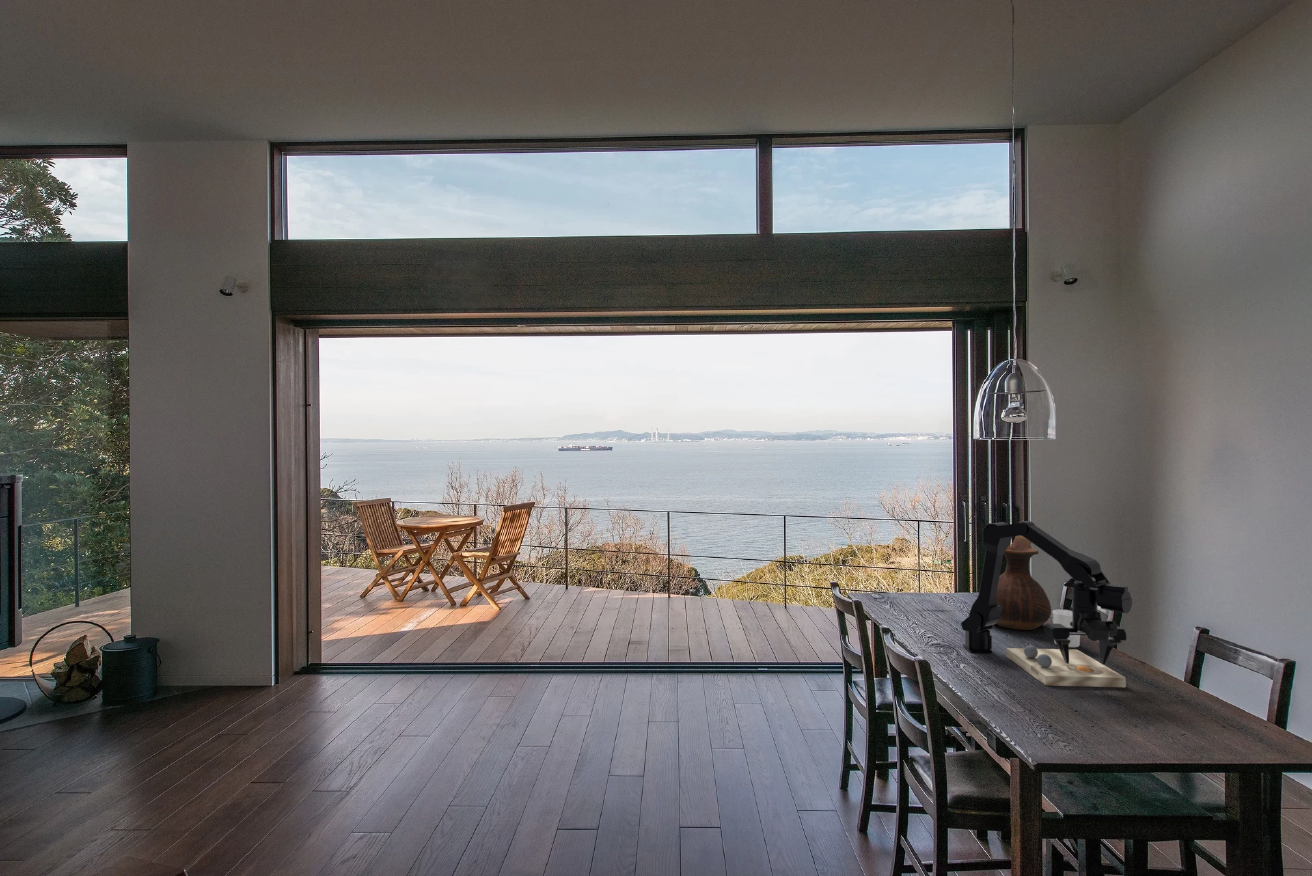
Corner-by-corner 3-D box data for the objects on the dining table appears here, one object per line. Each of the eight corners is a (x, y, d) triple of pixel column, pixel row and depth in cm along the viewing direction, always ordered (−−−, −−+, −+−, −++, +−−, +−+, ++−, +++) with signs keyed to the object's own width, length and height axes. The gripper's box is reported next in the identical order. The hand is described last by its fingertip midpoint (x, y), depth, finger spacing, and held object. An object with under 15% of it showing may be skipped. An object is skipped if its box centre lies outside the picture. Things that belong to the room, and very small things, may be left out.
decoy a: (1027, 659, 195) (1027, 647, 195) (1021, 655, 198) (1021, 643, 198) (1040, 660, 195) (1040, 647, 195) (1034, 656, 198) (1034, 643, 198)
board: (1045, 685, 182) (1045, 675, 182) (1006, 656, 206) (1006, 648, 206) (1125, 687, 180) (1125, 677, 180) (1076, 658, 204) (1076, 649, 204)
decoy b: (1040, 669, 187) (1040, 656, 187) (1034, 664, 190) (1034, 652, 190) (1054, 669, 187) (1054, 656, 187) (1048, 665, 190) (1048, 652, 190)
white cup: (1073, 641, 221) (1073, 609, 221) (1086, 648, 213) (1086, 616, 213) (1047, 640, 222) (1047, 609, 222) (1059, 647, 214) (1059, 615, 214)
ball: (1082, 682, 185) (1078, 669, 185) (1075, 677, 189) (1071, 665, 189) (1095, 679, 185) (1091, 666, 185) (1088, 674, 188) (1084, 662, 188)
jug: (1067, 632, 231) (1067, 542, 231) (1008, 635, 228) (1008, 543, 228) (1022, 615, 253) (1022, 533, 253) (968, 618, 249) (968, 534, 249)
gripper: (1063, 612, 179) (1063, 673, 179) (1139, 613, 178) (1139, 674, 178) (1043, 602, 191) (1043, 659, 191) (1114, 603, 189) (1114, 660, 189)
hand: (1084, 663), depth 187 cm, fingers open, 9 cm apart
